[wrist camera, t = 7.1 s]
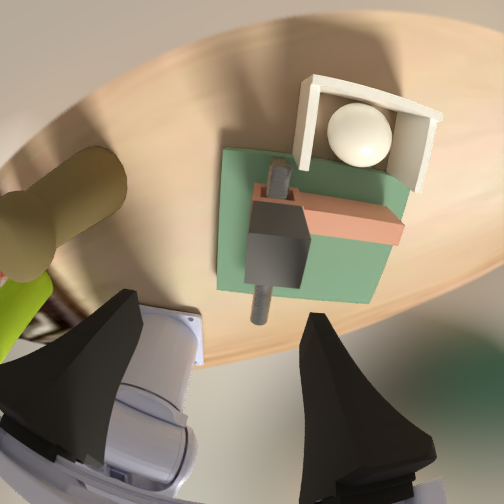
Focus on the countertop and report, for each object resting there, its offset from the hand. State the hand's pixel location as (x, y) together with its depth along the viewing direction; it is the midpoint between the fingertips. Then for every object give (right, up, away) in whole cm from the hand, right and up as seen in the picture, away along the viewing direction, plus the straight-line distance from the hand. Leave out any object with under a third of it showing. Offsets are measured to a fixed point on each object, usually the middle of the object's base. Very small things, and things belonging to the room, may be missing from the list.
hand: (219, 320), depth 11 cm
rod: (+2, +4, +8) cm, 9 cm away
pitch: (+6, +4, +9) cm, 12 cm away
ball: (+8, +10, +3) cm, 13 cm away
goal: (+8, +11, +5) cm, 14 cm away
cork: (-11, +8, +8) cm, 16 cm away
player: (+6, +6, +6) cm, 10 cm away
